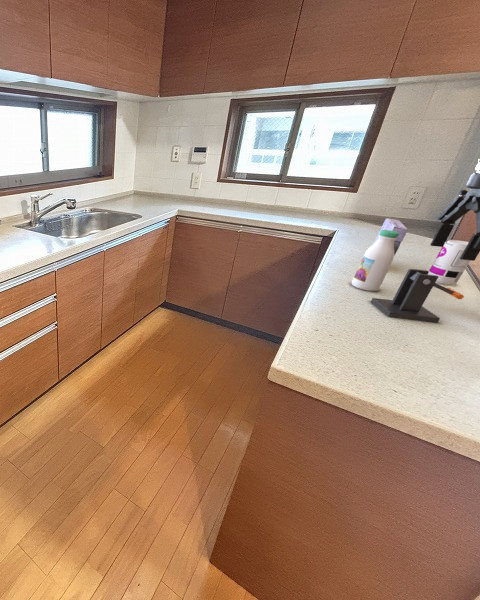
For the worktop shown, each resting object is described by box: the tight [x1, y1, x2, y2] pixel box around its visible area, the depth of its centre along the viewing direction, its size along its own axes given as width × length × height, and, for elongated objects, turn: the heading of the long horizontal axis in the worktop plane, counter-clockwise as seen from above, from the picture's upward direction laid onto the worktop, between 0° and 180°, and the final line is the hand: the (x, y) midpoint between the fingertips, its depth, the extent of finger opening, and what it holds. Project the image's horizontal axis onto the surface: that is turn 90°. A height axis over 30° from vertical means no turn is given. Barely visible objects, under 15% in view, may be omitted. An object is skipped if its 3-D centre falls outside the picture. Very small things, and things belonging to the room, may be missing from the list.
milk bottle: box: [351, 230, 399, 292], centre depth 110 cm, size 8×8×20 cm
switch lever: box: [410, 272, 465, 300], centre depth 93 cm, size 12×5×2 cm, turn 75°
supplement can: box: [428, 239, 471, 286], centre depth 118 cm, size 8×8×15 cm
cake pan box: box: [373, 217, 409, 257], centre depth 133 cm, size 19×5×18 cm, turn 147°
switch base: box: [370, 268, 441, 324], centre depth 95 cm, size 12×10×13 cm
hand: (450, 252), depth 92 cm, fingers open, 13 cm apart
